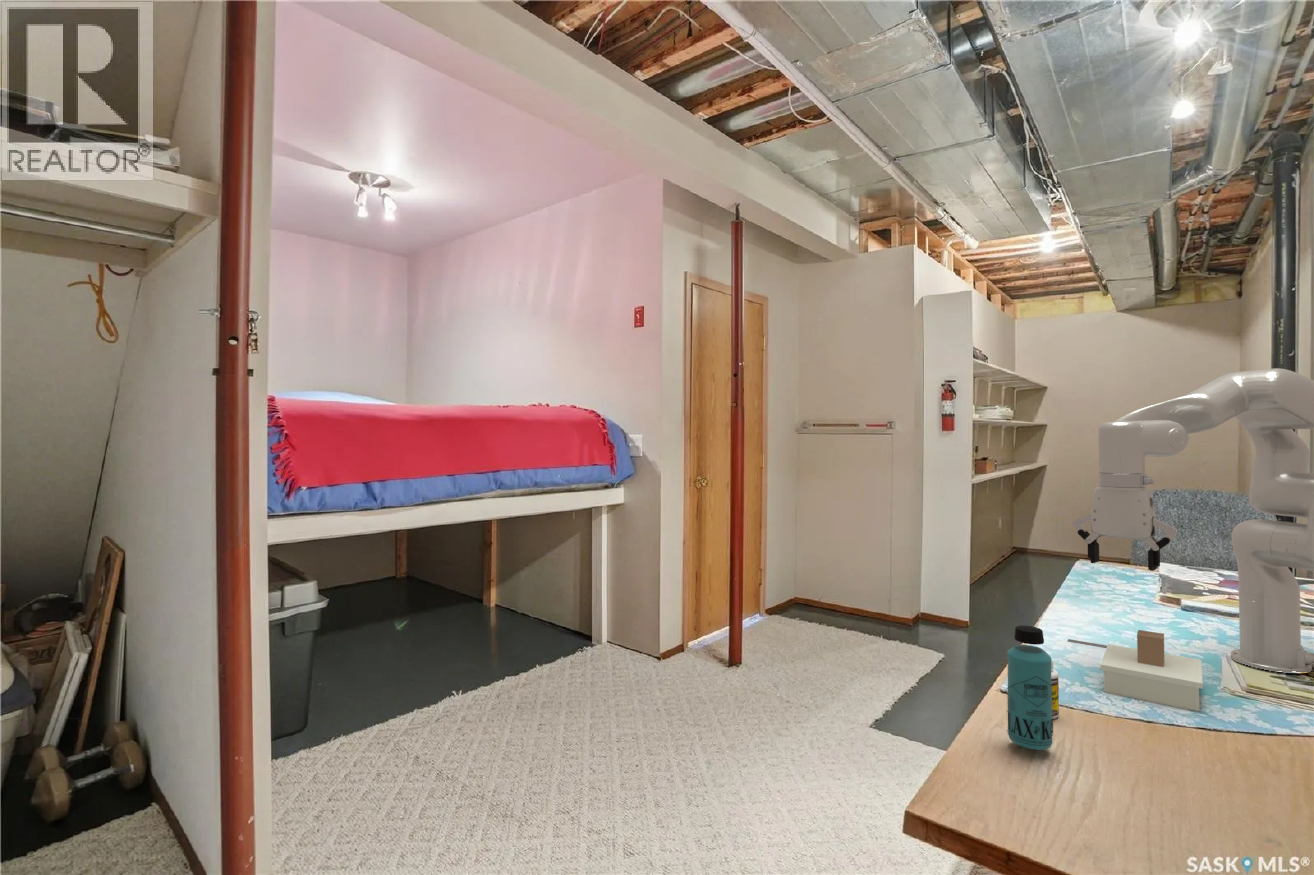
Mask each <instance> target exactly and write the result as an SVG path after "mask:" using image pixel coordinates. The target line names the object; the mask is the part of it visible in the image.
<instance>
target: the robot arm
mask: <svg viewBox="0 0 1314 875" xmlns="http://www.w3.org/2000/svg"><path fill="white" fill-rule="evenodd" d="M1233 418H1236V420H1237V421H1238V423H1239V424H1240V425H1241V427H1243V429H1244V430H1245V432H1246V433H1247V434H1248V436H1249V437H1250V439H1251V441H1252V443H1253V446H1254V450H1255V451H1254V452H1255V453H1254V454H1255V455H1254V463H1253V468H1252V473H1251V479H1250V485H1249V491H1248V502H1249V505H1250V506H1251V508H1253V509H1254V510H1255V511H1257V512H1260V513H1263V514H1268V515H1276V516H1283V517H1295V518H1304V519H1307V520H1306V523H1299V522H1291V521H1283V520H1282V521H1281V520H1272V519H1262V518H1261V519H1259V518H1258V519H1257V518H1256V519H1255V518H1254V519H1247V520H1244V521H1241V522H1239V523H1238V524H1236V526H1235V527H1234V528H1233V529H1232V532H1231V535H1230V536H1231V537H1230V538H1231V545H1232V549H1233V552H1234V556H1235V561H1236V566H1237V576H1238V614H1239V615H1238V617H1239V618H1238V620H1239V621H1238V622H1239V623H1238V624H1239V649H1234V650H1232V651H1230V658H1231V659H1232V660H1233V661H1235V662H1236V663H1238V662H1239V664H1241V663H1242V664H1241V665H1243V664H1245V665H1244V666H1246V665H1248V666H1247V667H1249V666H1251V667H1250V668H1253V667H1257V668H1261V669H1264V670H1263V671H1265V670H1269V671H1268V672H1271V671H1282V672H1292V671H1296V672H1310V673H1312V672H1313V666H1312V664H1314V652H1308V651H1307V650H1304V647H1303V646H1302V643H1301V642H1302V638H1301V637H1302V636H1301V632H1302V631H1301V588H1300V585H1299V582H1298V580H1297V578H1296V576H1295V575H1294V573H1293V572H1292V571H1291V570H1290V568H1292V569H1300V570H1304V571H1309V572H1311V571H1312V572H1314V473H1311V472H1309V469H1310V468H1309V466H1310V459H1311V452H1310V449H1309V446H1308V445H1307V444H1306V443H1305V441H1304V440H1303V439H1302V438H1301V437H1300V436H1299V434H1297V432H1295V431H1294V430H1314V380H1313V379H1312V378H1309V377H1307V376H1305V375H1302V374H1301V373H1299V372H1295V371H1293V370H1289V369H1285V368H1276V367H1275V368H1266V369H1256V370H1244V371H1235V372H1230V373H1227V374H1222V375H1221V376H1219V377H1217V378H1215V379H1214V380H1211V381H1210V382H1208V383H1206V384H1204V385H1201V387H1199V388H1197V389H1195V390H1192V391H1191V392H1189V393H1187V394H1185V395H1182V396H1179V397H1174V398H1171V399H1169V400H1165V401H1162V402H1158V403H1156V404H1152V405H1148V406H1146V407H1143V408H1140V409H1136V410H1134V411H1132V412H1129V413H1127V414H1125V415H1123V416H1122V417H1119V418H1118V419H1115V421H1107V422H1103V423H1101V424H1100V425H1099V427H1098V433H1097V434H1098V438H1097V439H1098V472H1099V473H1098V486H1097V487H1095V489H1094V493H1093V496H1092V497H1093V499H1092V505H1091V513H1090V514H1088V515H1086V516H1083V517H1080V518H1078V519H1075V520H1073V521H1072V525H1073V527H1074V529H1075V530H1076V531H1077V534H1078V535H1079V536H1080V538H1082V539H1083V540H1084V542H1085V543H1086V544H1087V558H1088V559H1090V564H1096V563H1098V562H1100V544H1099V542H1098V540H1099V539H1100V538H1101V537H1107V538H1108V537H1110V538H1117V539H1126V540H1127V539H1128V540H1142V541H1143V542H1144V543H1145V544H1146V545H1147V546H1148V547H1149V550H1147V570H1149V571H1152V572H1154V571H1155V570H1157V568H1158V567H1160V566H1161V549H1163V548H1164V547H1165V546H1167V545H1169V544H1170V543H1171V542H1172V540H1174V538H1175V537H1176V535H1177V533H1178V528H1176V527H1174V526H1171V525H1169V524H1168V523H1166V522H1163V521H1161V520H1160V519H1157V518H1156V510H1155V503H1154V498H1153V494H1152V491H1151V489H1148V488H1146V487H1147V486H1148V485H1154V484H1155V477H1151V476H1148V475H1147V473H1146V458H1147V457H1151V458H1155V457H1156V458H1166V457H1167V458H1169V457H1173V456H1175V455H1178V454H1180V453H1181V452H1182V451H1184V450H1185V449H1186V447H1187V446H1188V444H1189V435H1191V434H1195V433H1196V434H1197V433H1200V432H1201V433H1203V432H1205V431H1206V432H1207V431H1211V430H1213V429H1216V428H1217V427H1219V426H1221V425H1222V424H1225V423H1226V422H1227V421H1230V420H1231V419H1233ZM1089 522H1090V530H1091V533H1089V531H1087V530H1086V529H1085V527H1084V524H1086V523H1089ZM1157 529H1159V530H1161V531H1164V534H1165V535H1164V536H1163V538H1161V539H1160V540H1158V539H1157V538H1156V537H1155V536H1156V534H1157ZM1257 668H1256V669H1257ZM1261 669H1260V670H1261ZM1311 671H1312V672H1311Z"/></svg>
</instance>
